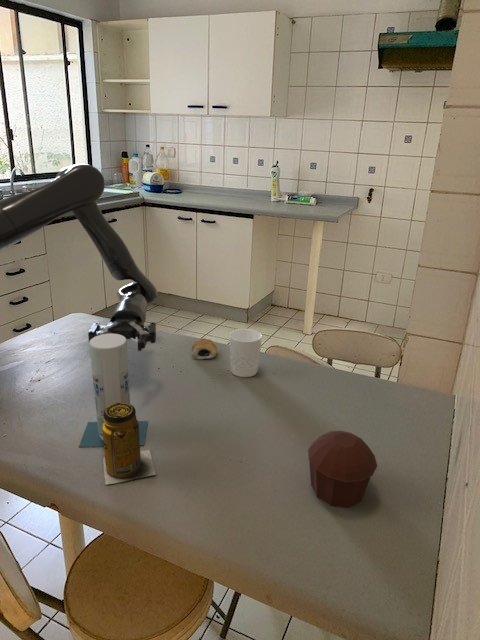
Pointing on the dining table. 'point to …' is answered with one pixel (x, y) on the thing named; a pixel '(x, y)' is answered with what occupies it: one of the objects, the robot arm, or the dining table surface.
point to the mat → (94, 440)
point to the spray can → (109, 373)
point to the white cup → (245, 352)
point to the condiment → (123, 446)
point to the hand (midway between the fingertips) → (118, 346)
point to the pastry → (204, 349)
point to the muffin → (340, 468)
